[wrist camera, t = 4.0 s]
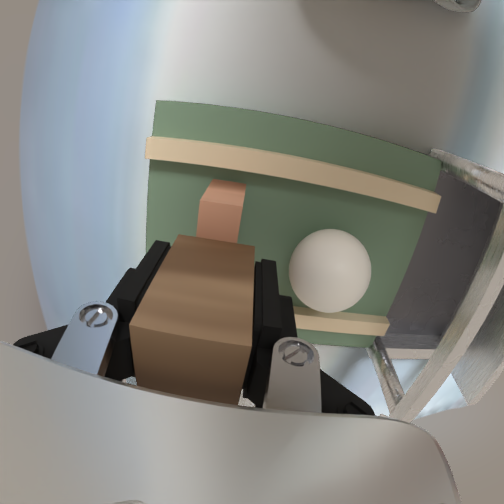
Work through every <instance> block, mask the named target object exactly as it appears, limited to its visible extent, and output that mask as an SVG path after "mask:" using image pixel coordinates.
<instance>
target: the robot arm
mask: <svg viewBox="0 0 504 504" xmlns="http://www.w3.org/2000/svg"><path fill="white" fill-rule="evenodd" d="M171 247H172V246H170V242H165V241H159V240H156V241H155V242H154V243H153V245H152V246H151V248H150V249H149V250H148V252H147V253H146V255H145V256H144V258H143V259H142V261H141V262H140V264H139V265H138V267H137V268H136V269H134V268H129V269H128V270H127V272H126V273H125V275H124V276H123V277H122V279H121V280H120V282H119V283H118V285H117V286H116V288H115V289H114V291H113V292H112V294H111V295H110V297H109V298H108V300H107V301H106V303H105V302H99V301H95V302H89V303H86V304H84V305H82V306H81V307H79V308H78V309H77V311H76V312H75V314H74V316H73V317H72V319H71V321H70V323H69V325H65V326H62V327H58V328H55V329H51V330H48V331H45V332H41V333H38V334H34V335H31V336H27V337H24V338H22V339H19V340H18V341H17V342H15V343H14V344H13V345H11V344H9V343H6V342H3V341H0V504H462V503H461V500H460V495H459V492H458V489H457V486H456V483H455V480H454V477H453V474H452V471H451V469H450V466H449V464H448V461H447V459H446V457H445V455H444V453H443V451H442V449H441V447H440V445H439V443H438V442H437V440H436V439H435V438H434V437H433V435H432V434H430V433H429V432H428V431H426V430H425V429H423V428H421V427H419V426H417V425H415V424H412V423H409V422H405V421H402V420H399V419H393V418H391V417H388V416H386V415H383V414H380V416H376V415H375V414H374V411H373V410H372V408H371V406H369V405H368V404H367V403H366V402H365V401H363V400H362V399H361V398H359V397H358V396H356V395H355V394H354V393H352V392H351V391H349V390H348V389H347V388H345V387H344V386H342V385H341V384H340V383H338V382H337V381H336V380H334V379H333V378H332V377H330V376H329V375H327V374H326V373H325V372H323V371H322V370H321V369H320V362H319V354H318V351H317V350H316V348H315V347H314V346H313V345H312V344H310V343H309V342H307V341H305V340H303V339H300V338H298V336H297V329H296V322H295V315H294V308H293V302H292V297H291V296H285V295H279V287H278V276H277V266H276V261H273V260H267V259H261V262H257V261H256V262H255V266H254V292H253V324H252V348H251V352H250V356H249V360H248V365H247V369H246V373H245V377H244V381H243V385H242V389H243V398H248V399H249V400H250V401H251V402H253V403H254V406H253V407H247V406H239V405H232V404H225V403H219V402H213V401H206V400H201V399H195V398H190V397H185V396H180V395H175V394H170V393H165V392H161V391H156V390H152V389H148V388H144V387H140V386H136V385H132V384H128V383H126V378H128V377H131V376H133V377H136V375H135V369H134V362H133V354H132V346H131V338H130V329H129V324H130V322H131V320H132V318H133V316H134V314H135V312H136V310H137V308H138V307H139V305H140V303H141V301H142V299H143V297H144V295H145V293H146V291H147V290H148V288H149V286H150V284H151V282H152V280H153V279H154V277H155V275H156V273H157V271H158V270H159V268H160V266H161V264H162V262H163V261H164V259H165V257H166V255H167V254H168V252H169V250H170V248H171Z"/></svg>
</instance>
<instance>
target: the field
mask: <svg viewBox="0 0 504 504" xmlns="http://www.w3.org/2000/svg"><path fill="white" fill-rule="evenodd" d="M145 159H150V166H149V180H148V198H147V223H146V253H147V252H148V250H149V249H150V248H151V246H152V245H153V243H154V242H155V241H156V240H159V241H165V242H170V246H172V245H173V243H174V241H175V240H176V238H177V236H178V234H181V235H187V236H194V237H196V233H197V223H198V213H199V204H200V199H201V198H202V196H203V194H204V193H205V191H206V189H207V188H208V186H209V185H210V183H211V181H212V180H213V179H218V180H225V181H231V182H238V183H244V184H246V190H245V196H244V202H243V209H242V215H241V221H240V227H239V233H238V240H237V243H238V244H245V245H251V246H255V259H254V266H255V262H256V261H257V262H261V259H267V260H273V261H276V266H277V276H278V287H279V295H285V296H291V297H292V302H293V308H294V315H295V322H296V329H297V336H298V338H300V339H303V340H305V341H307V342H309V343H311V344H322V345H334V346H347V347H363V348H369V347H370V346H371V345H372V344H373V342H374V340H375V338H376V336H384V335H385V333H386V331H387V329H388V327H389V325H390V323H389V321H388V319H387V317H386V316H387V313H388V311H389V309H390V307H391V305H392V303H393V300H394V298H395V296H396V294H397V292H398V289H399V287H400V285H401V282H402V280H403V278H404V275H405V273H406V270H407V268H408V265H409V263H410V260H411V258H412V255H413V253H414V250H415V247H416V245H417V242H418V239H419V237H420V234H421V231H422V228H423V225H424V222H425V219H426V216H427V213H428V211H429V212H432V213H436V212H437V209H438V206H439V202H440V199H441V196H440V195H439V194H437V193H435V192H434V191H435V188H436V184H437V181H438V177H439V174H440V170H441V160H438V159H436V158H433V157H430V156H428V155H425V154H422V153H420V152H417V151H414V150H411V149H408V148H405V147H402V146H399V145H396V144H393V143H390V142H387V141H383V140H380V139H377V138H373V137H370V136H367V135H363V134H359V133H356V132H352V131H348V130H345V129H341V128H337V127H333V126H329V125H325V124H320V123H316V122H312V121H307V120H302V119H298V118H293V117H288V116H282V115H277V114H272V113H266V112H260V111H254V110H247V109H241V108H233V107H226V106H218V105H209V104H200V103H189V102H177V101H160V100H156V107H155V115H154V124H153V133H152V136H151V137H148V138H147V139H146V150H145ZM323 229H337V230H342V231H345V232H347V233H349V234H351V235H353V236H354V237H355V238H357V239H358V240H359V241H360V242H361V244H362V245H363V246H364V247H365V249H366V251H367V253H368V255H369V258H370V262H371V279H370V283H369V286H368V288H367V290H366V292H365V293H364V295H363V296H362V298H361V299H360V300H359V301H358V302H357V303H356V304H354V305H353V306H351V307H350V308H348V309H346V310H343V311H339V312H334V313H325V312H320V311H316V310H314V309H312V308H310V307H308V306H307V305H305V304H304V303H303V302H302V301H301V300H300V299H299V298H298V297H297V296H296V294H295V292H294V291H293V289H292V286H291V283H290V279H289V263H290V259H291V256H292V254H293V251H294V250H295V248H296V247H297V245H298V244H299V243H300V242H301V241H302V240H303V239H304V238H305V237H307V236H308V235H310V234H311V233H313V232H316V231H319V230H323Z"/></svg>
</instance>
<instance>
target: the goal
mask: <svg viewBox="0 0 504 504" xmlns="http://www.w3.org/2000/svg"><path fill="white" fill-rule="evenodd" d="M429 156H430V157H433V158H436V159H438V160H441V170H440V174H439V177H438V181H437V184H436V188H435V191H434V192H435V193H437V194H439V195H440V196H441V199H440V202H439V206H438V209H437V212H436V213H432V212H429V211H428V213H427V216H426V219H425V222H424V225H423V228H422V231H421V234H420V237H419V239H418V242H417V245H416V247H415V250H414V253H413V255H412V258H411V260H410V263H409V265H408V268H407V270H406V273H405V275H404V278H403V280H402V282H401V285H400V287H399V289H398V292H397V294H396V296H395V298H394V300H393V303H392V305H391V307H390V309H389V311H388V313H387V316H386V317H387V319H388V321H389V323H390V325H389V327H388V329H387V331H386V333H385V335H384V336H376V338H375V340H374V342H373V344H372V345H371V346H370V347H369V348H366V350H367V353H368V355H369V358H371V359H372V362H373V365H374V368H375V371H376V374H377V376H378V379H379V382H380V385H381V388H382V391H383V394H384V397H385V400H386V403H387V406H388V409H389V412H390V414H389V417H391V418H393V419H399V420H402V421H405V422H409V423H411V422H412V421H413V420H414V418H415V417H416V416H417V415H418V414H419V413H420V411H421V410H422V409H423V408H424V407H425V405H426V404H427V403H428V402H429V401H430V399H431V398H432V397H433V396H434V394H435V393H436V392H437V391H438V389H439V388H440V387H441V385H442V384H443V383H444V381H445V380H446V379H447V377H448V376H449V375H450V373H451V374H452V376H453V378H454V380H455V382H456V383H457V385H458V387H459V389H460V391H461V393H462V395H463V397H464V399H465V401H466V403H467V405H473V404H476V403H477V402H478V401H479V400H480V399H481V398H482V397H483V395H484V394H485V393H486V392H487V391H488V389H489V388H490V387H491V386H492V384H493V383H494V382H495V380H496V379H497V378H498V377H499V375H500V374H501V373H502V371H503V370H504V174H502V173H500V172H497V171H495V170H493V169H490V168H488V167H485V166H483V165H480V164H478V163H475V162H473V161H470V160H468V159H465V158H462V157H459V156H457V155H454V154H451V153H448V152H445V151H442V150H439V149H432V150H431V152H430V153H429ZM390 359H429V361H428V362H427V364H426V365H425V367H424V368H423V370H422V371H421V373H420V374H419V376H418V377H417V379H416V380H415V381H414V383H413V384H412V386H411V387H410V388H409V390H408V391H407V392H406V394H404V392H403V389H402V387H401V384H400V382H399V379H398V377H397V374H396V372H395V369H394V367H393V364H392V362H391V360H390Z"/></svg>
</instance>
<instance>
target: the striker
mask: <svg viewBox="0 0 504 504" xmlns="http://www.w3.org/2000/svg"><path fill="white" fill-rule="evenodd" d="M245 190H246V184H244V183H238V182H231V181H225V180H218V179H213V180H212V181H211V183H210V185H209V186H208V188H207V189H206V191H205V193H204V194H203V196H202V198H201V199H200V204H199V213H198V223H197V233H196V237H194V236H187V235H181V234H178V236H177V238H176V240H175V241H174V243H173V245H172V247H171V248H170V250H169V252H168V254H167V255H166V257H165V259H164V261H163V262H162V264H161V266H160V268H159V270H158V271H157V273H156V275H155V277H154V279H153V280H152V282H151V284H150V286H149V288H148V290H147V291H146V293H145V295H144V297H143V299H142V301H141V303H140V305H139V307H138V308H137V310H136V312H135V314H134V316H133V318H132V320H131V322H130V324H129V329H130V338H131V346H132V354H133V362H134V369H135V375H136V382H137V386H140V387H144V388H148V389H152V390H156V391H161V392H165V393H170V394H175V395H180V396H185V397H190V398H195V399H201V400H206V401H213V402H219V403H225V404H232V405H238V402H239V398H240V394H241V390H242V385H243V381H244V377H245V373H246V369H247V365H248V360H249V356H250V352H251V348H252V324H253V292H254V259H255V246H251V245H245V244H238V243H237V240H238V233H239V227H240V221H241V215H242V209H243V202H244V196H245Z"/></svg>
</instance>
